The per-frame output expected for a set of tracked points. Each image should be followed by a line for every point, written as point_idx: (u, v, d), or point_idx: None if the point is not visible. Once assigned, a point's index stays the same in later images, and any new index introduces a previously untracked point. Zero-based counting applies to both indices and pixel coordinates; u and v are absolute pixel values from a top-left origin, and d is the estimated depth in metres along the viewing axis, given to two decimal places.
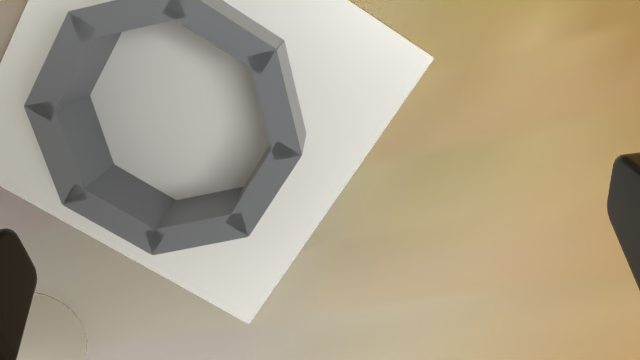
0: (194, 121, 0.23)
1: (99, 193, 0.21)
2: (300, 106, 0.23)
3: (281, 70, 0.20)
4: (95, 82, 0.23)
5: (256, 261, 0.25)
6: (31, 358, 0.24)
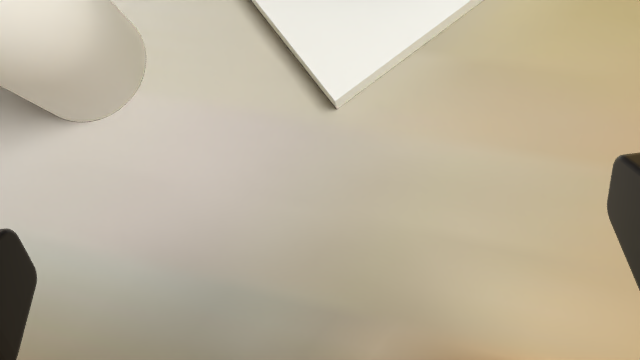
0: None
1: None
2: None
3: None
4: None
5: (375, 30, 0.22)
6: (102, 2, 0.21)
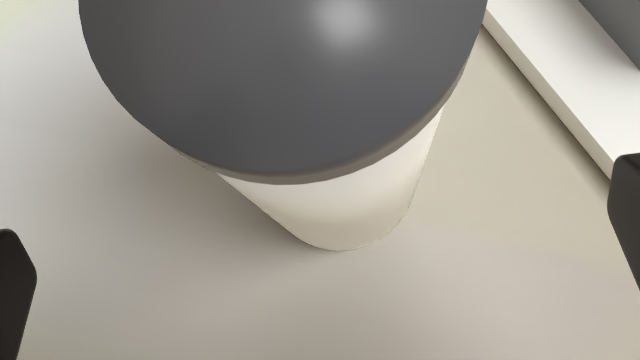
0: None
1: None
2: None
3: None
4: None
5: None
6: None
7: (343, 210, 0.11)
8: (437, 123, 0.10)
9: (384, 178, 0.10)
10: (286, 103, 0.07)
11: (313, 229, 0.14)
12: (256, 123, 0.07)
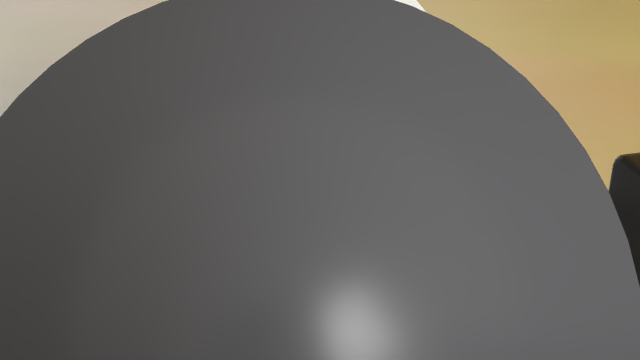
0: None
1: None
2: None
3: None
4: None
5: None
6: None
7: None
8: None
9: None
10: None
11: None
12: None
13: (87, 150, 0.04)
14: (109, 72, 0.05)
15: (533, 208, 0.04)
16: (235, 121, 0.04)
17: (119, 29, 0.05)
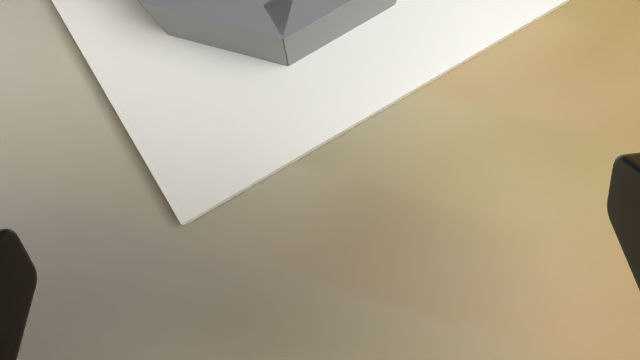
0: None
1: None
2: None
3: None
4: None
5: (243, 138, 0.17)
6: None
7: None
8: None
9: None
10: None
11: None
12: None
13: None
14: None
15: None
16: None
17: None
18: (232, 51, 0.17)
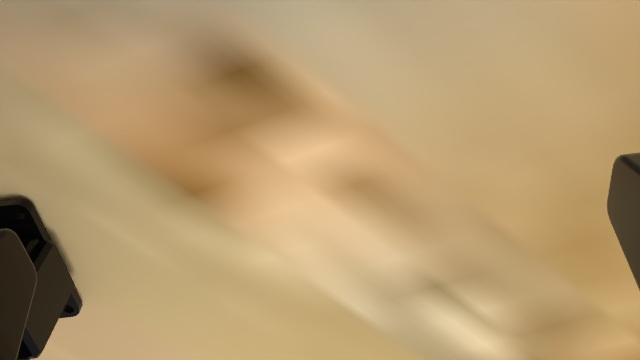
0: None
1: None
2: None
3: None
4: None
5: None
6: None
7: None
8: None
9: None
10: None
11: None
12: None
13: None
14: None
15: None
16: None
17: None
18: None
